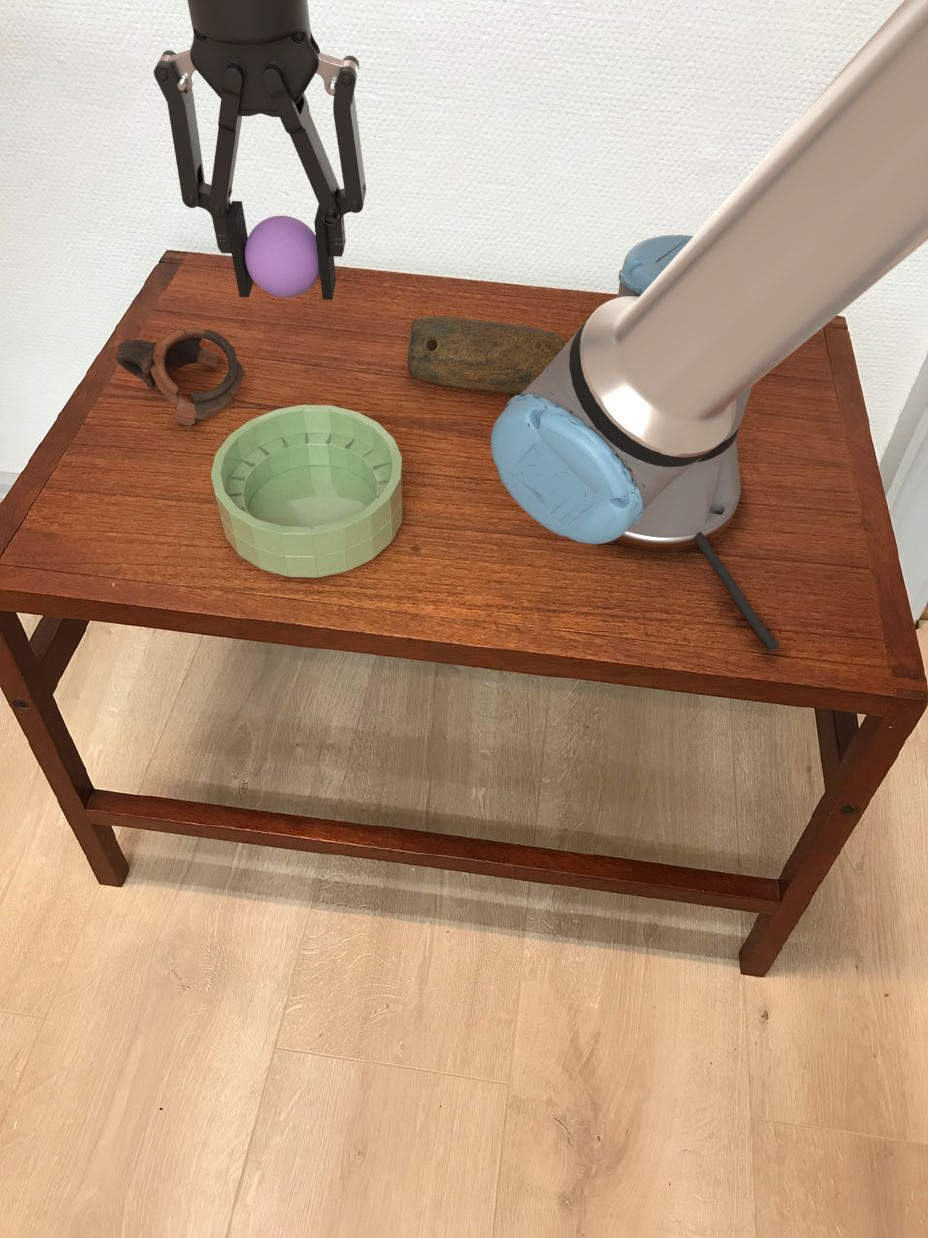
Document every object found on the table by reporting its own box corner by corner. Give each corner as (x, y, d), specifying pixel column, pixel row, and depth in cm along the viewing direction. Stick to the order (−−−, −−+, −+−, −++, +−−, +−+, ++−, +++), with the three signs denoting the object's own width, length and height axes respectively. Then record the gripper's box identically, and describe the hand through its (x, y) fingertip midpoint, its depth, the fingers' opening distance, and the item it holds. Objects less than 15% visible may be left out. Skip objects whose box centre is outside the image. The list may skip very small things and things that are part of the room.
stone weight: (406, 402, 96) (404, 344, 90) (412, 358, 100) (411, 300, 95) (559, 410, 95) (567, 352, 90) (559, 365, 100) (565, 308, 94)
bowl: (398, 586, 81) (396, 535, 76) (209, 581, 81) (195, 531, 76) (407, 458, 91) (405, 406, 86) (238, 454, 90) (228, 402, 86)
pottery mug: (248, 363, 100) (252, 325, 92) (234, 450, 98) (237, 419, 90) (125, 337, 97) (119, 296, 89) (108, 426, 95) (100, 392, 87)
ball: (321, 314, 77) (313, 243, 72) (245, 311, 77) (232, 240, 72) (330, 271, 80) (323, 201, 76) (257, 269, 80) (246, 199, 76)
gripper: (399, -62, 63) (409, 266, 81) (105, -71, 63) (181, 259, 81) (389, -19, 58) (402, 320, 76) (71, -29, 58) (160, 312, 76)
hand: (288, 288), depth 78 cm, fingers closed on ball, 6 cm apart
